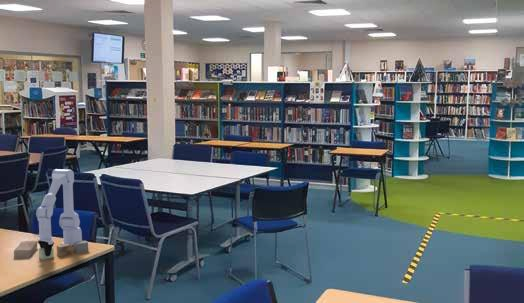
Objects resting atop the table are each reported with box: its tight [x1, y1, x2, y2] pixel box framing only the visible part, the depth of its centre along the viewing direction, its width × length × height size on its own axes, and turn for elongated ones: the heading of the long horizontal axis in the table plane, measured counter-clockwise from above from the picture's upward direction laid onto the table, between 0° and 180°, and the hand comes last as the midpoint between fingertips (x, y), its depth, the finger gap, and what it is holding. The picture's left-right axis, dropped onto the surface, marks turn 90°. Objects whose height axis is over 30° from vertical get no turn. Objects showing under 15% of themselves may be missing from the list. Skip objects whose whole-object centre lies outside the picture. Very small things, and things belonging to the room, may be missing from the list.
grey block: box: [73, 240, 89, 254], centre depth 278 cm, size 6×4×5 cm, turn 133°
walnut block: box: [56, 243, 72, 257], centre depth 273 cm, size 6×4×5 cm, turn 133°
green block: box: [38, 247, 55, 261], centre depth 267 cm, size 6×4×5 cm, turn 133°
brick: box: [13, 240, 38, 259], centre depth 275 cm, size 17×8×5 cm, turn 11°
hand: (46, 254), depth 267 cm, fingers closed on green block, 4 cm apart
